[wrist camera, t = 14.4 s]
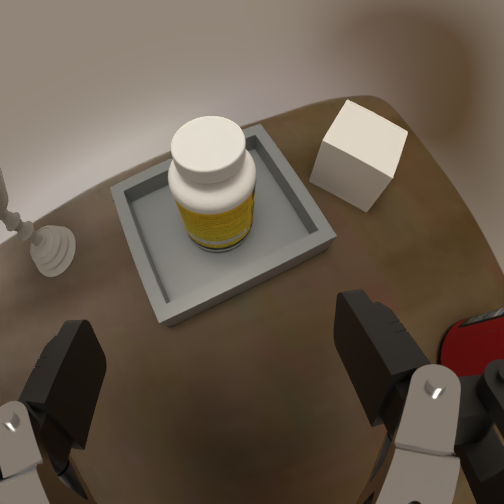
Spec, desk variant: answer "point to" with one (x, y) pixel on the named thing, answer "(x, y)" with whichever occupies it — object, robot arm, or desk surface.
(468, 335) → the beverage can
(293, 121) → the desk surface
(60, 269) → the chalice
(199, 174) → the supplement bottle
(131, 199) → the tray
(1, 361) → the desk surface
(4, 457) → the robot arm
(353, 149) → the white cube
